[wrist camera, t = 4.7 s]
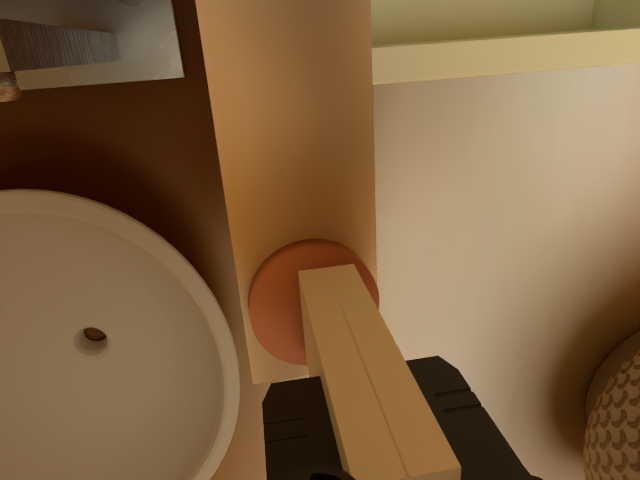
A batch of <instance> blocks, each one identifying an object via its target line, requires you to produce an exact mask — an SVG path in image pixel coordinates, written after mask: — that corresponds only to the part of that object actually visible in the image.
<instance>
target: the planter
mask: <svg viewBox="0 0 640 480" xmlns="http://www.w3.org/2000/svg"><path fill="white" fill-rule="evenodd" d="M586 416H587V421H588V422H587V427H586V432H585V438H584V472H585V479H586V480H640V330H639V331H638V332H636V333H634V334H632V335H631V336H629V337H628V338H627V339H625V340H624V341H623V342H621V343H620V344H619V345H618V346H617V347H616V348H615V349H614V350H612V351H611V353H610V354H609V355H608V356H607V357H606V358H605V359H604V361H603V362H602V363H601V365H600V366H599V368H598V369H597V371H596V372H595V374H594V376H593V378H592V380H591V383H590V386H589V389H588V392H587V398H586Z"/></svg>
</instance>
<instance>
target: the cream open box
mask: <svg viewBox="0 0 640 480" xmlns="http://www.w3.org/2000/svg"><path fill="white" fill-rule="evenodd" d="M371 35H372V81H373V85H378V84H390V83H402V82H414V81H426V80H438V79H450V78H462V77H474V76H486V75H498V74H510V73H522V72H534V71H546V70H558V69H570V68H582V67H594V66H606V65H617V64H629V63H640V0H371Z"/></svg>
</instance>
